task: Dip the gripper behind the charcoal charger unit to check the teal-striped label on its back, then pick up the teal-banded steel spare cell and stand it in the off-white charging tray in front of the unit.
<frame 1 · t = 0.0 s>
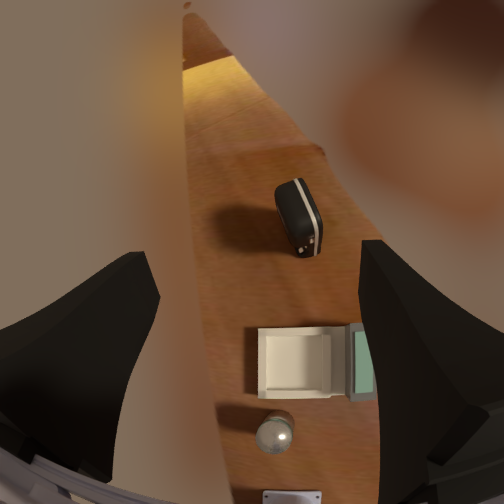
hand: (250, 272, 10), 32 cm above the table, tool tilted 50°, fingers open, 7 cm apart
charging station: (295, 362, 39), on the table
battery charger: (299, 237, 44), on the table
spare cell: (279, 424, 37), on the table
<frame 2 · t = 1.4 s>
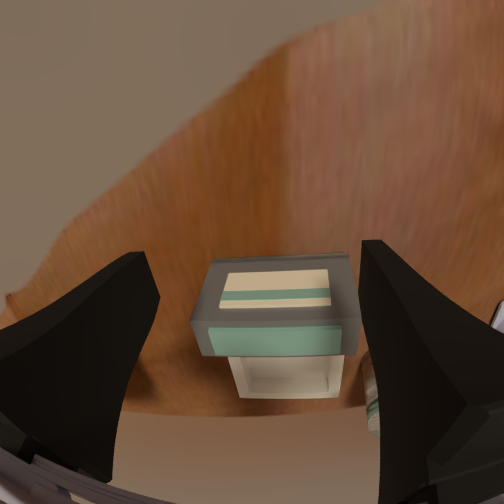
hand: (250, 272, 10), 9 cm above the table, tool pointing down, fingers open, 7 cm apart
charging station: (287, 350, 26), on the table
spare cell: (382, 358, 26), on the table
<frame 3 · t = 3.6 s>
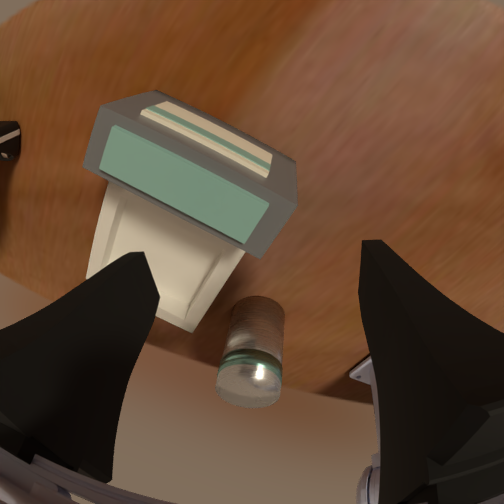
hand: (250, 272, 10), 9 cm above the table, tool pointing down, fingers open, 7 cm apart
charging station: (165, 246, 21), on the table
battery charger: (0, 141, 18), on the table
spare cell: (258, 315, 24), on the table
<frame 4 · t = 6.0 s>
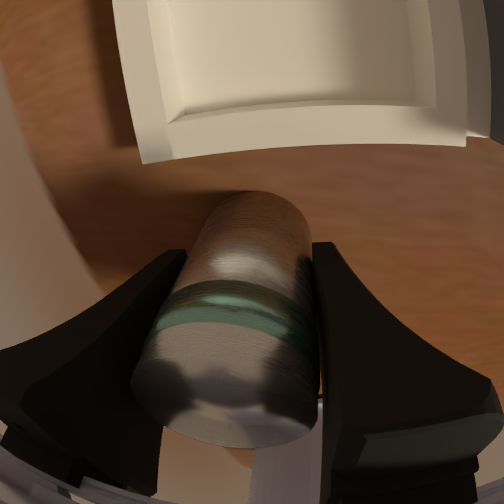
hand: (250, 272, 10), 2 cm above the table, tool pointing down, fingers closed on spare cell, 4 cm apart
spare cell: (256, 241, 12), on the table, touching gripper
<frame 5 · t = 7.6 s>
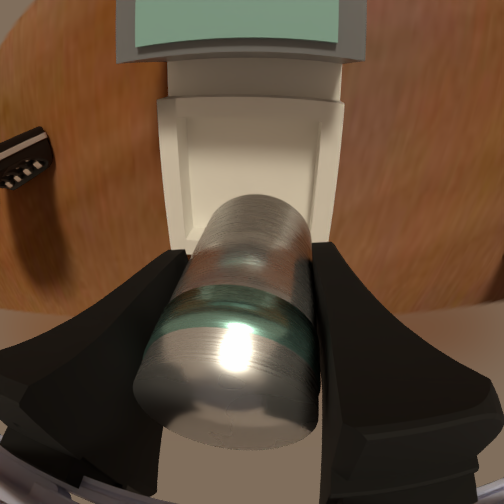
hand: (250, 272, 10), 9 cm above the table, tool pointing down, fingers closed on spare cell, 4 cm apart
charging station: (251, 171, 18), on the table
battery charger: (30, 161, 19), on the table
spare cell: (257, 243, 12), point 7 cm above the table, touching gripper
when the fingers open (4 cm above the table, at t = 9.5 s): spare cell drops 1 cm, resting on charging station.
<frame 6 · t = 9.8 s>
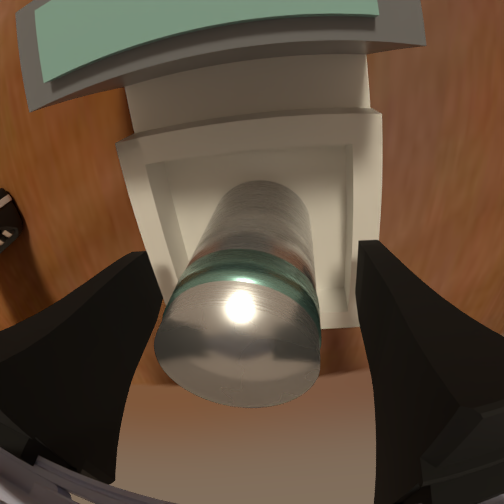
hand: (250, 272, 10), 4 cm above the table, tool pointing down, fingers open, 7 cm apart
charging station: (261, 217, 13), on the table
battery charger: (3, 227, 16), on the table
spare cell: (261, 226, 13), point 1 cm above the table, touching charging station
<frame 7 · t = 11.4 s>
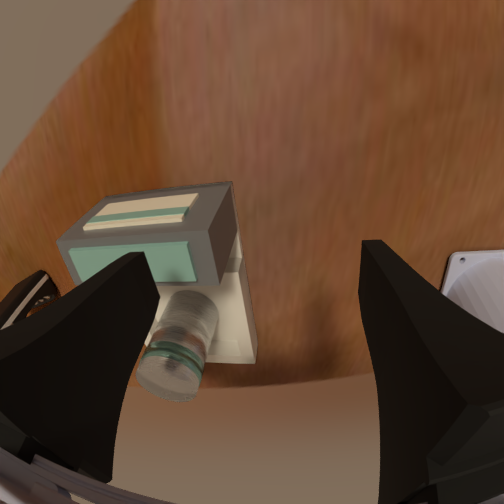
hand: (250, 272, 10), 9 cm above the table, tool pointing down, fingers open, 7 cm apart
charging station: (194, 303, 24), on the table
battery charger: (41, 288, 27), on the table
spare cell: (192, 310, 24), point 1 cm above the table, touching charging station
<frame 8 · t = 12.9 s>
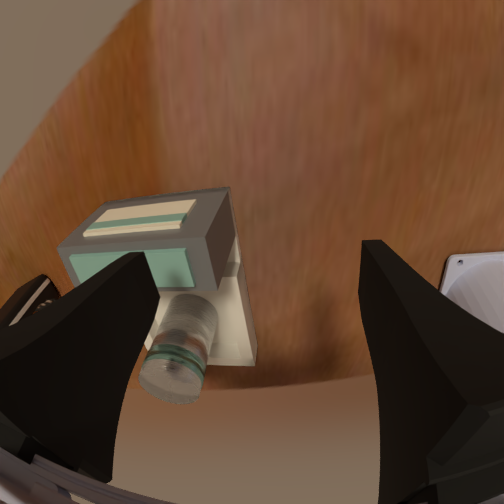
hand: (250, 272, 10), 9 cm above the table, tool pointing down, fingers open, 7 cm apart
charging station: (194, 307, 25), on the table
battery charger: (42, 292, 27), on the table
spare cell: (192, 313, 24), point 1 cm above the table, touching charging station
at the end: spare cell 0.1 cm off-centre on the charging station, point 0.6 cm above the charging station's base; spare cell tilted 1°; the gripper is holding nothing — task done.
